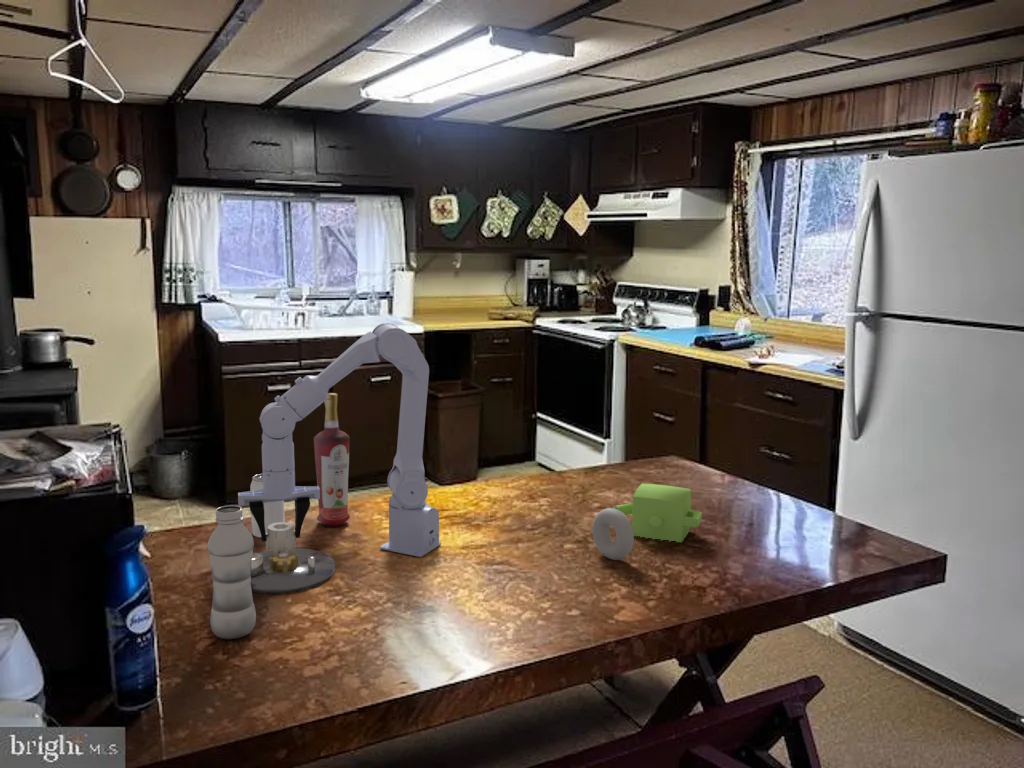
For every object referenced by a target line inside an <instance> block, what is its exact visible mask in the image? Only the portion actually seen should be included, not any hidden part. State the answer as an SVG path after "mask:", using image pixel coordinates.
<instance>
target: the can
mask: <svg viewBox="0 0 1024 768" xmlns="http://www.w3.org/2000/svg"><path fill="white" fill-rule="evenodd" d="M251 479H252V481H251V483H250V485H249V487H250V489H249V490H250V491H253V490H259V489H263V473H260V474H255V475H254V476H252V477H251ZM263 504H264V524H265V533H268V525H270V524H273V523H279V522H284V523H285V522H286V521H285V519H286V518H285V501H275V502H263ZM250 514H251V515H250V517H251V534H252V536H254V537H255V538H258V539H262V538H261V533H260V529H259V527H258V524H257V522H256V520H255V518H254V516H253V514H252V513H251V512H250Z"/></svg>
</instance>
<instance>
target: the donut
mask: <svg viewBox="0 0 1024 768" xmlns="http://www.w3.org/2000/svg"><path fill="white" fill-rule="evenodd" d="M591 527H592V529H591V531H592V539H593V542H594V544H595V546H596V547H597V550H598V551H599V552H600V553H601V555H602V556H604V557H605V558H607V559H609V560H613V561H618V560H622V559H625V558H626V557H627V556H628V555H630V553H631V551H632V549H633V548H634V542H635V536H634V532H633V529H632V522H630V520H629V518H628V517H627V515H624V513H622V512H621V511H619V510H617V509H614V507H607V508H604V509H601V510H600V511H599V512H598V513H597V514H596V515H595V517H594V519H593V522H592V526H591ZM611 527H612V529H613V530H614V533H615V541H614V540H613V538H612V537H611V533H610V529H611Z"/></svg>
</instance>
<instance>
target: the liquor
mask: <svg viewBox="0 0 1024 768" xmlns="http://www.w3.org/2000/svg"><path fill="white" fill-rule="evenodd" d="M323 403H324V406H325V415H324V418H325V419H324V430H322V431H319V433H317V434H316V435H315V436H314V437H313V447H314V462H315V464H314V465H315V473H316V486H319V489H320V499H317V500H318V515H317V517H316V520H317V521H318V522H319V523H321V524H322V525H323V526H324V527H327V528H328V527H329V528H336V527H337V528H338V527H341V526H343V525H345V524H346V523H347V522H348V520H349V519H350V518H351V517H350V514H349V512H348V511H349V510H348V509H349V508H348V507H349V503H348V500H349V499H348V498H349V497H348V495H349V470H350V469H349V466H350V435H349V434H348V433H346V432H345V431H342V430H340V427H339V418H338V403H339V402H338V393H336V392H328V397H327V400H325V401H324V402H323Z"/></svg>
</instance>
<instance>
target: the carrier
mask: <svg viewBox="0 0 1024 768" xmlns="http://www.w3.org/2000/svg"><path fill="white" fill-rule="evenodd" d="M335 572H336V561H335V560H334V558H333V557H332V556H331V555H329V554H328V553H326V552H323V551H318V550H315V549H309V548H297V547H296V548H292V549H290V550H289V551H287V552H285V551H278V552H274V551H272V550H266V551H264V552H259V553H257V552H253V555H252V563H251V575H250V576H251V589H252V593H259V594H284V593H285V594H287V593H293V592H298V591H304V590H306V589H307V588H308V589H310V588H313V586H314V587H316V586H319V585H321V584H323V583H325V582H326V581H328V580H329V579H330V578H332V576H333V575H334V574H335ZM303 589H304V590H303ZM308 589H307V590H308Z"/></svg>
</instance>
